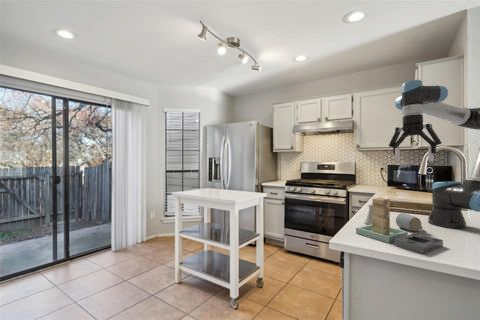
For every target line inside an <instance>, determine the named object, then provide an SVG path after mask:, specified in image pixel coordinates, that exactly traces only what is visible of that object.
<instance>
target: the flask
mask: <svg viewBox="0 0 480 320" xmlns="http://www.w3.org/2000/svg"><path fill="white" fill-rule="evenodd" d="M364 224H366V225H370V224H372V204H370V205H368V213H367V216H366V218H365V221H364Z"/></svg>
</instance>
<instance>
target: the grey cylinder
mask: <svg viewBox="0 0 480 320" xmlns="http://www.w3.org/2000/svg"><path fill="white" fill-rule="evenodd" d="M395 225H396V226H397V227H399V228H401V229H404V230H407V231H410V232H418V231H419V230H423V226H422V221H421V219H420V218H419V217H416V216H415V215H411V214H408V213H405V212H400V213H399V214H397V216H396V219H395Z"/></svg>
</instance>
